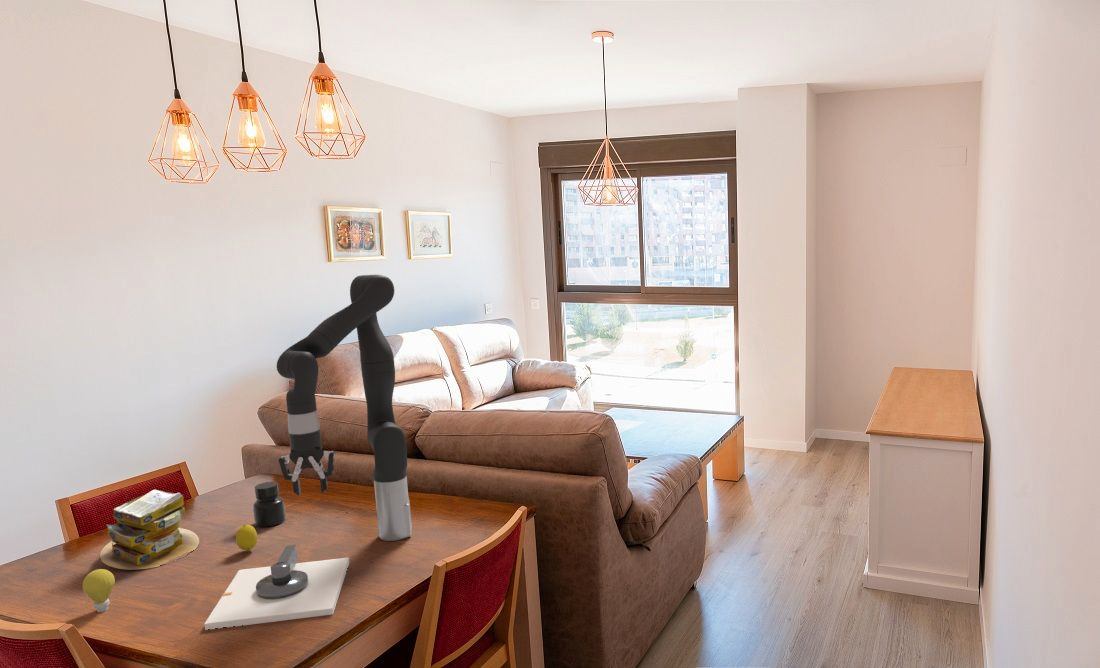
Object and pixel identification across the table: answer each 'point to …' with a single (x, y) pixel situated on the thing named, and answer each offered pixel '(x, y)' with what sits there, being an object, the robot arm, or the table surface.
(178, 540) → the stack of boxes
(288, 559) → the dial
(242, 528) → the lemon
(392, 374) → the robot arm
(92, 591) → the light bulb
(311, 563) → the dial plate
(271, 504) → the ink bottle
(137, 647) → the table surface
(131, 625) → the table surface
